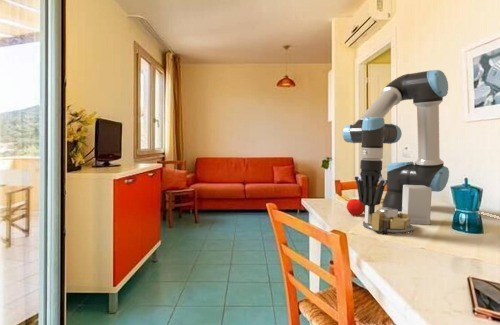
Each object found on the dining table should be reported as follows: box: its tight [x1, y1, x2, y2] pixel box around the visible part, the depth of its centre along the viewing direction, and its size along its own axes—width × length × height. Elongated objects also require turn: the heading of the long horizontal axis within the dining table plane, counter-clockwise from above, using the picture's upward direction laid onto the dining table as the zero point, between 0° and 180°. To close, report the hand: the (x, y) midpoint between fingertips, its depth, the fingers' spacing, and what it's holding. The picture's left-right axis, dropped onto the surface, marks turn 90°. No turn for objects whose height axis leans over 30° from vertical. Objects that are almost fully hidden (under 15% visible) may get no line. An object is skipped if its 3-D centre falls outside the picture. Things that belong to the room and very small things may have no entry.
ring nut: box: [368, 209, 411, 232], centre depth 126 cm, size 20×15×6 cm
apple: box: [346, 198, 364, 217], centre depth 147 cm, size 8×8×7 cm
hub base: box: [362, 207, 414, 236], centre depth 127 cm, size 20×18×7 cm
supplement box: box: [401, 185, 433, 226], centre depth 136 cm, size 9×9×15 cm
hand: (368, 222), depth 122 cm, fingers closed
